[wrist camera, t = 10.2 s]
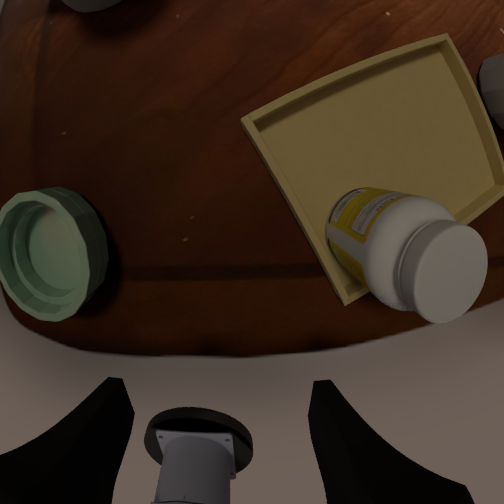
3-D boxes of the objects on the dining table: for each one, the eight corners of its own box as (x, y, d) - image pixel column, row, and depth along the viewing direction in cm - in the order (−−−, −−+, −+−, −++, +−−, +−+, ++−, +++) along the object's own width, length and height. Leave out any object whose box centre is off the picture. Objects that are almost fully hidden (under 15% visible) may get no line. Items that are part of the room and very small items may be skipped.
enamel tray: (336, 294, 21) (345, 306, 19) (240, 123, 18) (240, 118, 16) (495, 186, 19) (511, 189, 17) (433, 40, 16) (447, 32, 14)
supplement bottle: (391, 267, 20) (479, 334, 10) (319, 266, 20) (381, 347, 10) (401, 190, 18) (507, 214, 9) (326, 182, 18) (408, 198, 9)
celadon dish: (118, 302, 20) (100, 325, 17) (31, 298, 20) (7, 316, 17) (105, 180, 18) (80, 184, 15) (14, 193, 18) (-15, 199, 14)
